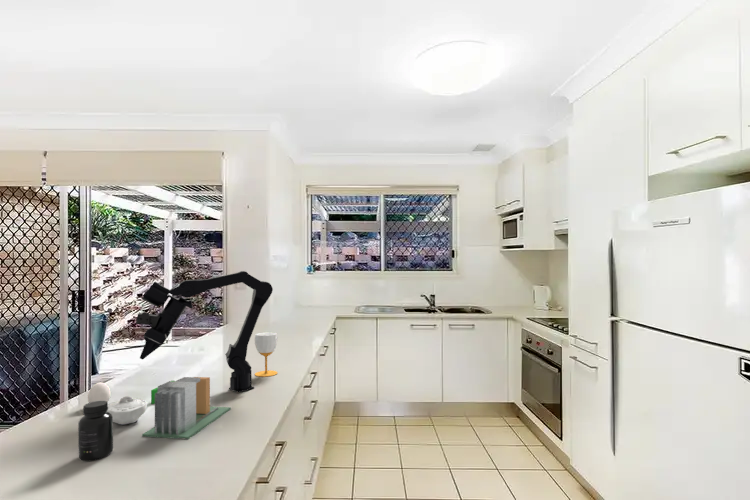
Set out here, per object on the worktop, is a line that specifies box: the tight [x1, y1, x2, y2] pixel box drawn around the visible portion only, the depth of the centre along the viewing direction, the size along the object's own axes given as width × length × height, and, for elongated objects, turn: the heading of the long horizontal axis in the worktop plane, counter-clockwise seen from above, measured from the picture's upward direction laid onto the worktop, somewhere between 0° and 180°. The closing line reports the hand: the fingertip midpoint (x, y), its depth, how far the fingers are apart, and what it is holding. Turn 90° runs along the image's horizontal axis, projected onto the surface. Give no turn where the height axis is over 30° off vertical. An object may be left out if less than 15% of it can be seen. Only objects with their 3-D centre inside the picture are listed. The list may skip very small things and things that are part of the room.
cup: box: [254, 331, 278, 378], centre depth 171 cm, size 9×9×16 cm
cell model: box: [107, 395, 148, 426], centre depth 120 cm, size 10×12×7 cm
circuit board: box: [141, 405, 232, 440], centre depth 120 cm, size 22×13×1 cm, turn 171°
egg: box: [87, 382, 112, 403], centre depth 133 cm, size 6×6×8 cm
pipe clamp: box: [150, 386, 158, 405], centre depth 141 cm, size 11×4×5 cm, turn 173°
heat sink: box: [154, 376, 219, 435], centre depth 119 cm, size 20×8×12 cm, turn 171°
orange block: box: [196, 376, 211, 414], centre depth 125 cm, size 2×5×10 cm, turn 81°
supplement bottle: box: [77, 401, 114, 462], centre depth 99 cm, size 7×7×12 cm
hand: (143, 356), depth 138 cm, fingers open, 9 cm apart
